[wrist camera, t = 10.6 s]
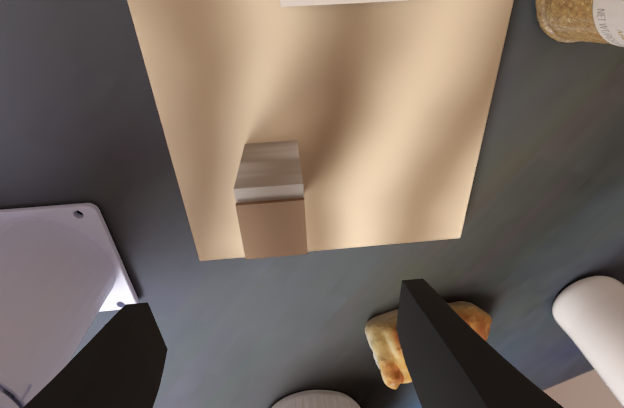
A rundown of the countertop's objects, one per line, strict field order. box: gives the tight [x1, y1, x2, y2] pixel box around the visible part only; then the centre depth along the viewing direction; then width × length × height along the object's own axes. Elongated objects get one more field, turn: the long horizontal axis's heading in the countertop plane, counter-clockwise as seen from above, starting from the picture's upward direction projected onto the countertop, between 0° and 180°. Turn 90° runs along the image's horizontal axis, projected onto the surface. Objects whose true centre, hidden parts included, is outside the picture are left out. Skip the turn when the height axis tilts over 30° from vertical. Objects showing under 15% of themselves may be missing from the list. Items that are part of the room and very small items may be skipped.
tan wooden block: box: [234, 140, 308, 259], centre depth 15 cm, size 3×3×5 cm
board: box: [127, 0, 514, 261], centre depth 16 cm, size 16×20×1 cm
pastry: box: [365, 301, 492, 389], centre depth 25 cm, size 9×7×4 cm
